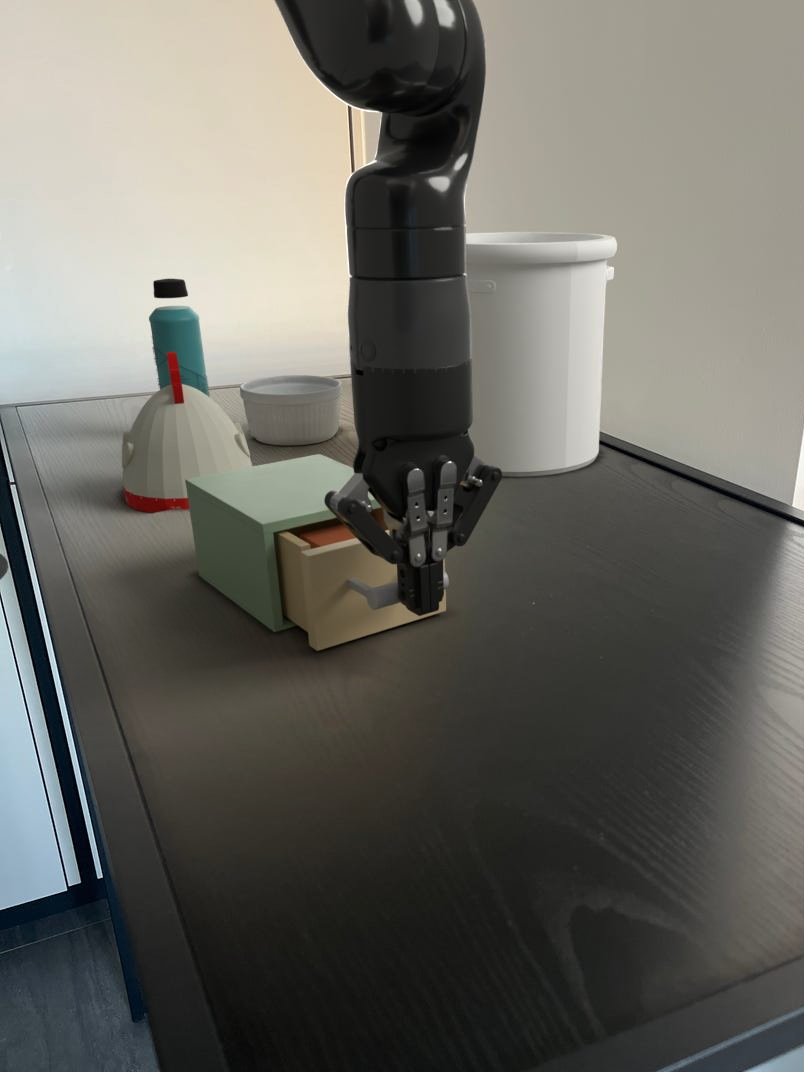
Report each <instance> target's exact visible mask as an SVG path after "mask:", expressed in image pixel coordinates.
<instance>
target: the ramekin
mask: <svg viewBox="0 0 804 1072" xmlns="http://www.w3.org/2000/svg"><path fill="white" fill-rule="evenodd" d="M343 391H344V390H343V384H342V382H341V380H339V379H338V378H333V377H329V376H325V375H324V376H323V375H316V374H315V375H313V374H312V375H311V374H285V375H282V374H281V375H272V376H264V377H258V378H254V379H251V380H247V381H244V382H242V383H241V384H240V386H239V396H240V398H241V399H242V402H243V409H244V412H245V416H246V421H247V425H248V426H247V427H248V429H249V431H250V433H251V435H252V437H254V439H255V440H256V441H258V442H260V443H263V444H268V445H272V446H305V445H306V446H307V445H313V444H318V443H323V442H327V441H328V440H330V439H332V438H333V437H334V436H335V434H336V433H337V432H338V430H339V427H340V419H341V417H340V416H341V402H342V401H341V398H342V397H341V396H342V395H343V393H344V392H343Z"/></svg>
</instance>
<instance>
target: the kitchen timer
mask: <svg viewBox="0 0 804 1072" xmlns="http://www.w3.org/2000/svg"><path fill="white" fill-rule="evenodd" d="M167 359H168V367H169V374H170V380H171V385H169V386H166V387H164V388H162V389H161V390H160V389H158V391H156V392H155V393H154V394H153V395H152V396H150V397H149V399H147V400H146V402H145V403H144V404H143V406H142V407H141V409H140V410H139V412H138V414H137V416H136V417H135V420H134V421H133V423H132V426H131V429H130V431H127V430H125V431H123V432H122V433H123V434H122V443H121V467H122V468H121V469H122V487H123V492H124V498H125V502H126V504H127V505H128V507H130V508H132V509H134V510H137V511H139V512H140V511H141V512H145V513H148V514H149V513H151V514H156V513H161V512H165V511H170V510H190V509H189V503H188V496H187V488H186V483H185V479H189V478H195V477H200V476H205V475H211V474H216V473H221V472H227V471H232V470H237V469H243V468H248V467H253V466H254V465H253V462H252V460H251V453H250V449H249V447H248V442H247V440H246V436H245V434H244V431H243V428H242V426H241V424H240V423H239V422H238V421H235V422H233V421H232V420H231V418H230V417H229V415H228V414H227V413H226V412H225V411H224V410H223V408H222V407H221V406H220V405H219V404H218V403H217V402H216V401H215V400H214V399H212V398H211V396H210V397H208V396H207V395H206V394H204V393H203V392H201V391H199V390H197V389H195V388H193V387H191V386H188V385H184V384H182V383H181V378H180V371H179V367H178V360H177V355H176V352H169V353H167Z"/></svg>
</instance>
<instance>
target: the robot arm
mask: <svg viewBox="0 0 804 1072" xmlns="http://www.w3.org/2000/svg"><path fill="white" fill-rule="evenodd" d="M273 1H274V2H275V5H276V7H277V9H278V11H279V13H280V15H281V18H282V20H283V22H284V24H285V26H286V29H287V31H288V34H289V36H290V38H291V40H292V42H293V44H294V46H295V48H296V50H297V53H298V54H299V56H300V57H301V59H302V61H303V62H304V64H305V66H306V67H307V68H308V69H309V71H310V73H312V75H313V76H314V78H316V80H317V81H318V82H319V83H320V84H321V85H322V86H323V87H324V88H325V89H326V90H327V91H329V93H331V95H333V96H334V97H335V98H336V99H338V100H339V101H341V102H343V103H344V104H345V105H347V106H349V107H351V108H354V109H357V110H358V111H359V110H360V111H363V112H369V113H381V114H380V124H379V130H378V131H379V132H378V140H377V146H376V152H375V155H374V158H373V159H372V161H371V162H369V163H367V164H365V165H363V166H361V167H359V168H358V169H356V170H354V171H353V172H352V173H351V174H350V176H349V177H348V179H347V180H346V184H345V189H344V226H345V229H344V230H345V241H346V243H345V244H346V256H347V257H346V258H347V259H346V260H347V271H348V273H347V274H348V275H349V276H348V297H347V313H346V314H347V316H346V317H347V318H346V319H347V333H348V334H347V335H348V348H349V349H348V351H349V364H350V367H349V368H350V378H351V379H350V380H351V381H350V382H351V393H352V394H351V396H352V409H353V410H352V411H353V424H354V428H355V432H356V435H357V440H358V444H357V449H356V453H355V456H354V458H353V460H352V461H353V462H352V468H353V470H354V473H355V474H354V475H353V476H352V477H351V479H350V480H349V481H348V482H347V483H346V484H345V485H344V487H343V488H342V489H341V490H340V491H339V492H338V491H336V490H332V491H329V492H328V493H327V494H326V496H325V499H324V502H325V505H326V506H327V508H328V509H329V510H330V511H331V512H332V513H333V514H334V515H335V516H336V517H337V518H338V519H339V520H340V521H341V522H342V523H343V524H344V525H345V526H346V527H347V528H348V530H349V531H350V532H351V533H352V534H353V535H354V536H355V537H356V538H357V539H358V540H359V541H360V542H361V543H362V544H363V545H364V546H365V547H366V548H367V549H368V550H369V551H370V552H371V553H372V554H374V555H376V556H379V557H381V558H383V559H385V560H386V561H387V562H389V563H391V564H397V578H398V597H399V600H400V602H401V604H403V605H405V606H406V608H407V609H408V610H409V611H411V612H413V613H414V614H416V615H418V616H422V615H425V614H428V613H432V612H435V611H438V610H439V602H441V601H442V599H443V596H444V586H443V585H444V581H443V580H444V576H443V559H444V558H445V559H446V556H447V554H448V552H449V551H451V550H452V549H453V548H455V547H463V546H465V545H466V543H467V542H468V541H469V539H470V537H471V535H472V533H473V532H474V529H475V528H476V526H477V524H478V522H479V520H481V517H482V515H483V514H484V512H485V509H486V508H487V506H488V504H489V503H490V501H491V499H492V497H493V495H494V493H496V490H497V488H498V487H499V484H500V483H501V481H502V479H503V477H502V471H501V469H500V468H497V467H495V466H492V465H489V464H486V463H484V462H483V461H482V460H480V459H479V458H477V457H476V456H475V455H474V445H473V442H472V440H471V438H470V436H469V433H468V429H469V428H470V426H471V425H472V422H473V386H472V320H471V307H470V300H469V293H468V286H467V275H466V274H465V273H466V233H467V222H466V206H465V205H466V204H465V203H466V202H465V201H466V198H465V197H466V191H467V185H468V181H469V177H470V174H471V169H472V165H473V161H474V156H475V149H476V145H477V144H476V143H477V138H478V132H479V128H480V121H481V116H482V111H483V105H484V104H483V103H484V98H485V91H486V90H485V89H486V81H487V80H486V79H487V52H486V41H485V35H484V30H483V26H482V22H481V21H482V20H481V17H480V15H479V12H478V9H477V7H476V4H475V2H474V1H473V0H273ZM368 491H369V493H370V494H371V495H372V496H373V497H374V499H375V500H376V501H377V502H378V503H379V505H380V506H381V507H382V509H383V517H384V521H385V524H386V525H387V527H388V529H389V535H390V536H389V535H388V534H387V532H386V531H385V530H384V529H383V528H382V527H381V526H380V525H379V524H378V523H377V522H376V520H375V519H374V518H373V517H372V516H371V515H370V514H369V513H370V512H371V511H372V506H371V501H370V499H369V497H368Z"/></svg>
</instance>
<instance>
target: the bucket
mask: <svg viewBox="0 0 804 1072" xmlns="http://www.w3.org/2000/svg"><path fill="white" fill-rule="evenodd" d="M617 251H618V241H617V239H616V237H615V236H612V235H608V234H601V233H599V234H598V233H585V232H584V233H583V232H559V231H558V232H557V231H556V232H555V231H498V232H494V231H493V232H469V233H467V232H466V273H465V274H466V275H467V286H468V293H469V300H470V307H471V320H472V386H473V422H472V425H471V426H470V428H469V429H468V433H469V436H470V438H471V440H472V442H473V445H474V455H475V456H476V457H477V458H479V459H480V460H482V461H483V462H484V463H486V464H489V465H492V466H495V467H497V468H500V469H501V471H502V478H503V477H505V478H507V477H508V478H525V477H540V476H541V477H543V476H551V475H558V474H563V473H569V472H572V471H577V470H579V469H581V468H584V467H587V466H588V465H590V464H592V463H593V462H594V461H595V460H596V459H597V457H598V454H599V451H600V427H601V426H600V425H601V408H602V407H601V405H602V383H603V362H604V361H603V359H604V335H605V333H604V332H605V315H606V314H605V313H606V292H607V291H606V290H607V283H608V281H612V280H613V279H614V276H615V267H614V266H610V265H608V259H610V258H612V257H615V255H616V253H617Z"/></svg>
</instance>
